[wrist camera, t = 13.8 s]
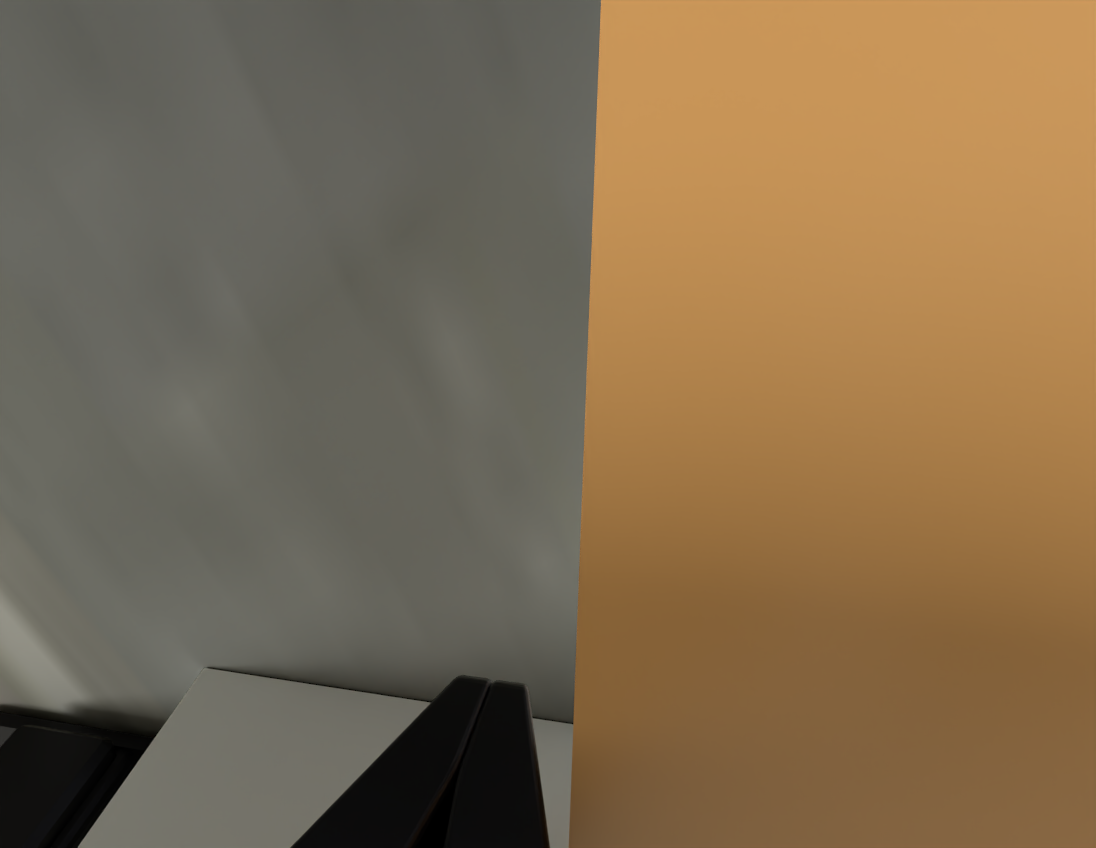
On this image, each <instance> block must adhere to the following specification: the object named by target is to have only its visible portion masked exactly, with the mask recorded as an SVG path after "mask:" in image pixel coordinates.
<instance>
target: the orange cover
mask: <svg viewBox="0 0 1096 848" xmlns="http://www.w3.org/2000/svg"><path fill="white" fill-rule="evenodd" d="M569 848H1096V0H601V20H600V46H599V72H598V98H597V124H596V150H595V176H594V202H593V228H592V253H591V279H590V305H589V331H588V357H587V383H586V409H585V435H584V461H583V487H582V513H581V539H580V565H579V591H578V617H577V643H576V669H575V695H574V721H573V747H572V773H571V799H570V825H569Z"/></svg>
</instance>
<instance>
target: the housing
mask: <svg viewBox="0 0 1096 848" xmlns="http://www.w3.org/2000/svg"><path fill="white" fill-rule="evenodd" d="M429 704H430V702H424V701H417V700H411V699H404V698H397V697H391V696H384V695H378V694H371V693H365V692H358V691H352V690H345V689H339V688H332V687H326V686H319V685H312V684H306V683H299V682H293V681H286V680H280V679H273V678H267V677H260V676H254V675H247V674H241V673H234V672H228V671H221V670H214V669H208V668H204V669H203V670H202V671H201V673H200V674H199V676H198V677H197V679H196V680H195V681H194V683H193V684H192V686H191V687H190V689H189V690H188V691H187V693H186V694H185V696H184V697H183V698H182V700H181V701H180V703H179V704H178V706H177V707H176V708H175V710H174V711H173V713H172V714H171V715H170V717H169V718H168V720H167V721H166V723H165V724H164V725H163V727H162V728H161V730H160V731H159V733H158V734H157V735H156V737H155V738H154V740H153V741H152V742H151V744H150V745H149V747H148V748H147V750H146V751H145V752H144V754H143V755H142V757H141V758H140V760H139V761H138V762H137V764H136V765H135V767H134V768H133V769H132V771H131V772H130V774H129V775H128V777H127V778H126V779H125V781H124V782H123V784H122V785H121V786H120V788H119V789H118V791H117V792H116V794H115V795H114V796H113V798H112V799H111V801H110V802H109V804H108V805H107V806H106V808H105V809H104V811H103V812H102V813H101V815H100V816H99V818H98V819H97V821H96V822H95V823H94V825H93V826H92V828H91V829H90V831H89V832H88V833H87V835H86V836H85V838H84V839H83V840H82V842H81V843H80V845H79V846H78V848H290V847H291V846H292V845H293V844H294V843H295V842H296V841H297V840H298V839H299V838H300V837H301V836H302V835H303V834H304V833H305V832H306V831H307V830H308V829H309V828H310V827H311V826H312V825H313V824H314V823H315V822H316V820H317V819H318V818H319V817H320V816H321V815H322V814H323V813H324V812H325V811H326V810H327V809H328V808H329V807H330V806H331V805H332V804H333V803H334V802H335V801H336V800H337V799H338V798H339V797H340V796H341V795H342V794H343V793H344V792H345V791H346V790H347V789H348V788H349V787H350V786H351V784H352V783H353V782H354V781H355V780H356V779H357V778H358V777H359V776H360V775H361V774H362V773H363V772H364V771H365V770H366V769H367V768H368V767H369V766H370V765H371V764H372V763H373V762H374V761H375V760H376V759H377V758H378V757H379V756H380V755H381V754H382V753H383V752H384V751H385V749H386V748H387V747H388V746H389V745H390V744H391V743H392V742H393V741H394V740H395V739H396V738H397V737H398V736H399V735H400V734H401V733H402V732H403V731H404V730H405V729H406V728H407V727H408V726H409V725H410V724H411V723H412V722H413V721H414V720H415V719H416V718H417V717H418V716H419V714H420V713H421V712H422V711H423V710H424V709H425V708H426V707H427V706H428V705H429ZM533 726H534V733H535V740H536V748H537V755H538V762H539V770H540V777H541V784H542V792H543V799H544V807H545V814H546V821H547V829H548V836H549V843H550V848H569V825H570V799H571V773H572V747H573V724H567V723H561V722H554V721H548V720H541V719H535V718H533Z"/></svg>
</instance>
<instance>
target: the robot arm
mask: <svg viewBox="0 0 1096 848" xmlns="http://www.w3.org/2000/svg"><path fill="white" fill-rule="evenodd" d="M153 740H154V738H151V737H145V736H139V735H133V734H127V733H121V732H115V731H109V730H103V729H97V728H91V727H85V726H79V725H73V724H67V723H61V722H55V721H49V720H43V719H37V718H31V717H25V716H19V715H14V714H8V713H2V712H0V848H78V846H79V845H80V843H81V842H82V840H83V839H84V838H85V836H86V835H87V833H88V832H89V831H90V829H91V828H92V826H93V825H94V823H95V822H96V821H97V819H98V818H99V816H100V815H101V813H102V812H103V811H104V809H105V808H106V806H107V805H108V804H109V802H110V801H111V799H112V798H113V796H114V795H115V794H116V792H117V791H118V789H119V788H120V786H121V785H122V784H123V782H124V781H125V779H126V778H127V777H128V775H129V774H130V772H131V771H132V769H133V768H134V767H135V765H136V764H137V762H138V761H139V760H140V758H141V757H142V755H143V754H144V752H145V751H146V750H147V748H148V747H149V745H150V744H151V742H152V741H153ZM290 848H550V843H549V836H548V829H547V821H546V814H545V807H544V799H543V792H542V784H541V777H540V770H539V762H538V755H537V748H536V740H535V733H534V726H533V718H532V711H531V703H530V696H529V690H528V687H527V686H526V685H525V684H522V683H515V682H508V681H501V680H496V681H494V682H492V681H491V680H489V679H487V678H480V677H473V676H466V675H461V676H458V677H456V678H455V679H454V680H453V681H452V682H451V683H450V684H449V685H448V686H447V687H446V688H445V689H444V690H443V691H442V692H441V693H440V694H439V695H438V696H437V697H436V698H435V699H434V700H433V701H432V702H431V703H430V704H429V705H428V706H427V707H426V708H425V709H424V710H423V711H422V712H421V713H420V714H419V716H418V717H417V718H416V719H415V720H414V721H413V722H412V723H411V724H410V725H409V726H408V727H407V728H406V729H405V730H404V731H403V732H402V733H401V734H400V735H399V736H398V737H397V738H396V739H395V740H394V741H393V742H392V743H391V744H390V745H389V746H388V747H387V748H386V749H385V751H384V752H383V753H382V754H381V755H380V756H379V757H378V758H377V759H376V760H375V761H374V762H373V763H372V764H371V765H370V766H369V767H368V768H367V769H366V770H365V771H364V772H363V773H362V774H361V775H360V776H359V777H358V778H357V779H356V780H355V781H354V782H353V783H352V784H351V786H350V787H349V788H348V789H347V790H346V791H345V792H344V793H343V794H342V795H341V796H340V797H339V798H338V799H337V800H336V801H335V802H334V803H333V804H332V805H331V806H330V807H329V808H328V809H327V810H326V811H325V812H324V813H323V814H322V815H321V816H320V817H319V818H318V819H317V820H316V822H315V823H314V824H313V825H312V826H311V827H310V828H309V829H308V830H307V831H306V832H305V833H304V834H303V835H302V836H301V837H300V838H299V839H298V840H297V841H296V842H295V843H294V844H293V845H292V846H291V847H290Z"/></svg>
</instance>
